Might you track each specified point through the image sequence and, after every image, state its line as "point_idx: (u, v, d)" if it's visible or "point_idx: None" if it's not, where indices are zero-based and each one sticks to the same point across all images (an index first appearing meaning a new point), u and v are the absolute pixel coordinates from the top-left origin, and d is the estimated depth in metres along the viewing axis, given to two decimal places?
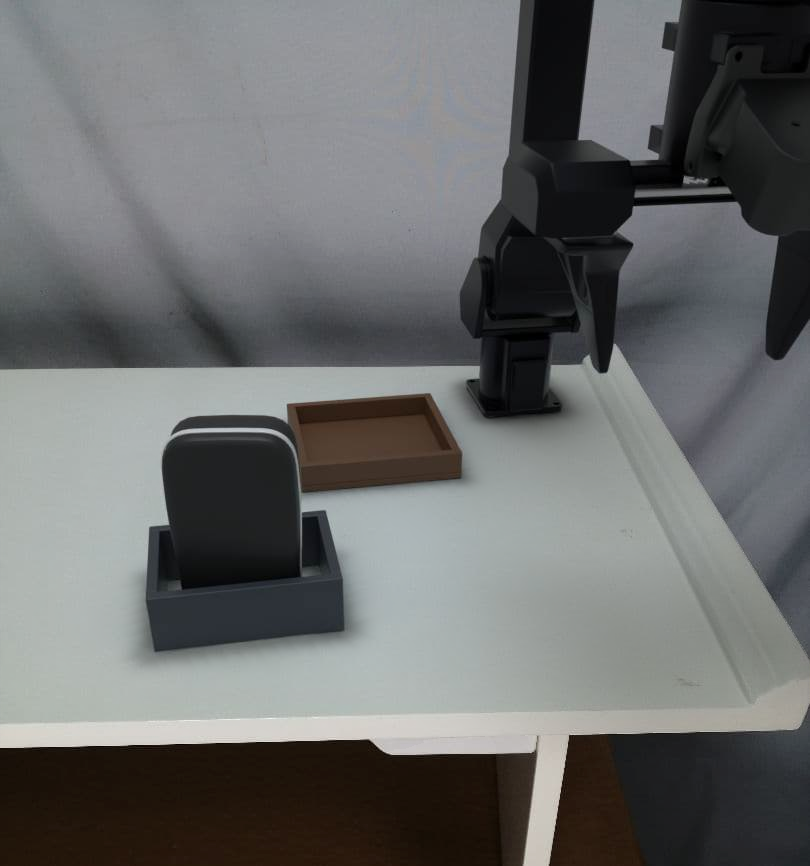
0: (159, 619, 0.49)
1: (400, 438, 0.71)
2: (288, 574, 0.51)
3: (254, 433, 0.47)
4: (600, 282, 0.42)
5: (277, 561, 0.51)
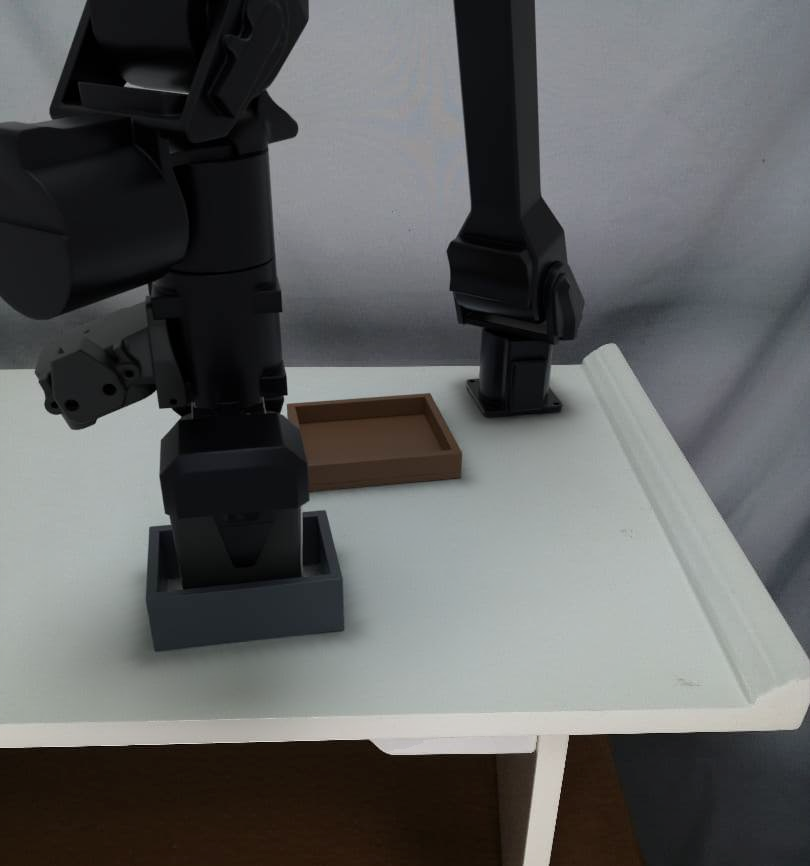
0: (159, 619, 0.49)
1: (400, 438, 0.71)
2: (289, 570, 0.51)
3: None
4: None
5: (278, 556, 0.51)
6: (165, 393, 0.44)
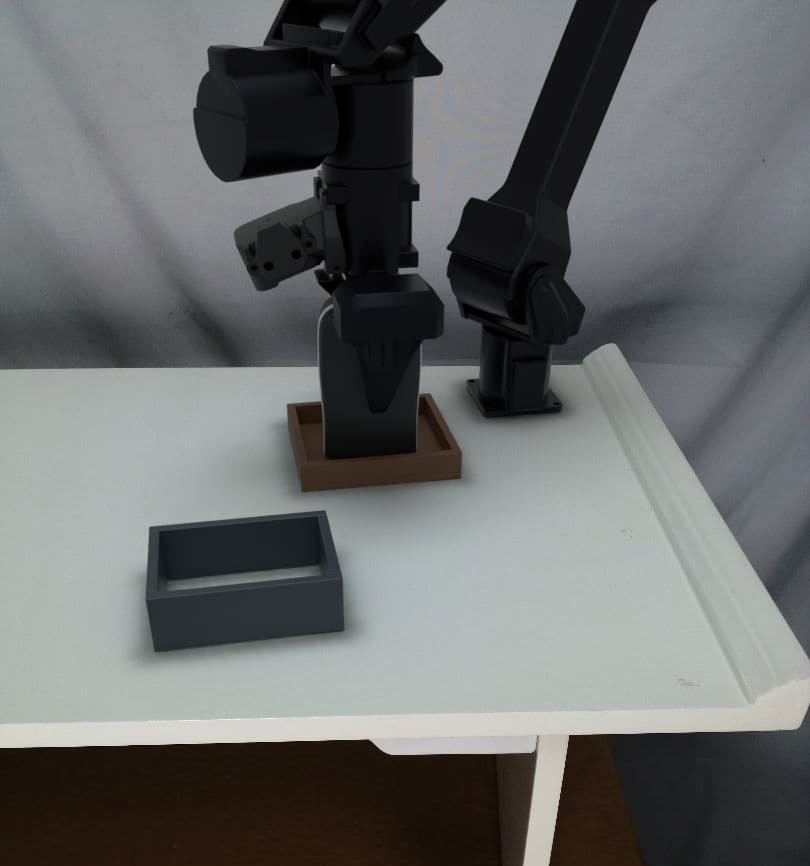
0: (159, 619, 0.49)
1: None
2: (409, 419, 0.66)
3: None
4: None
5: (401, 408, 0.65)
6: (331, 262, 0.59)
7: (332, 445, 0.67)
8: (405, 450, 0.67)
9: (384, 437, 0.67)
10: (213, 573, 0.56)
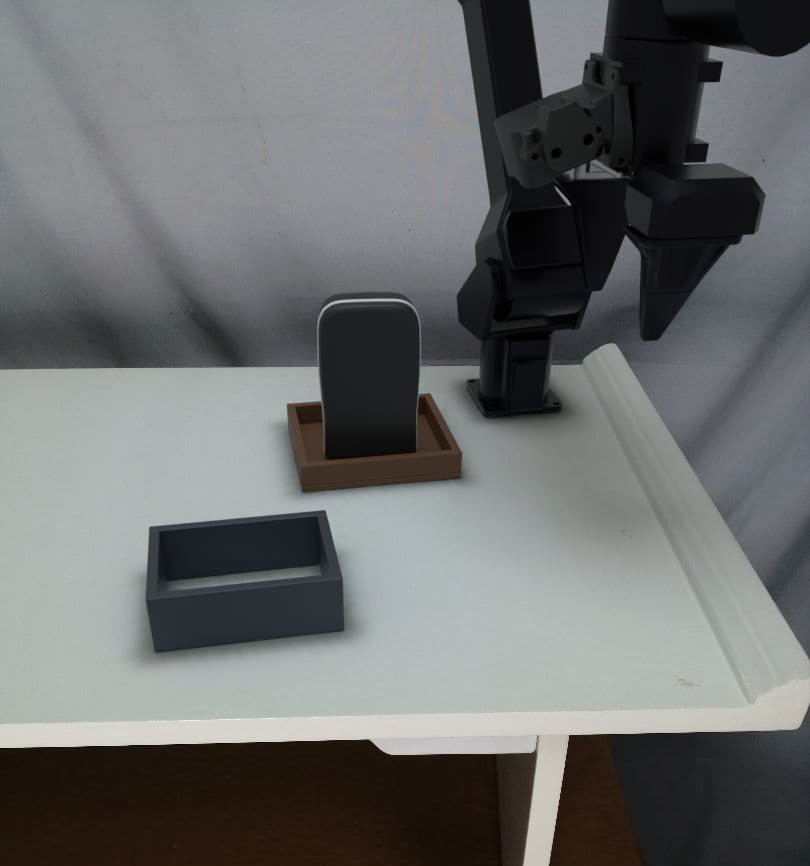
0: (159, 619, 0.49)
1: None
2: (408, 418, 0.66)
3: (390, 302, 0.62)
4: (575, 213, 0.62)
5: (401, 407, 0.66)
6: (617, 152, 0.52)
7: (332, 445, 0.67)
8: (405, 450, 0.67)
9: (384, 436, 0.67)
10: (213, 573, 0.56)
